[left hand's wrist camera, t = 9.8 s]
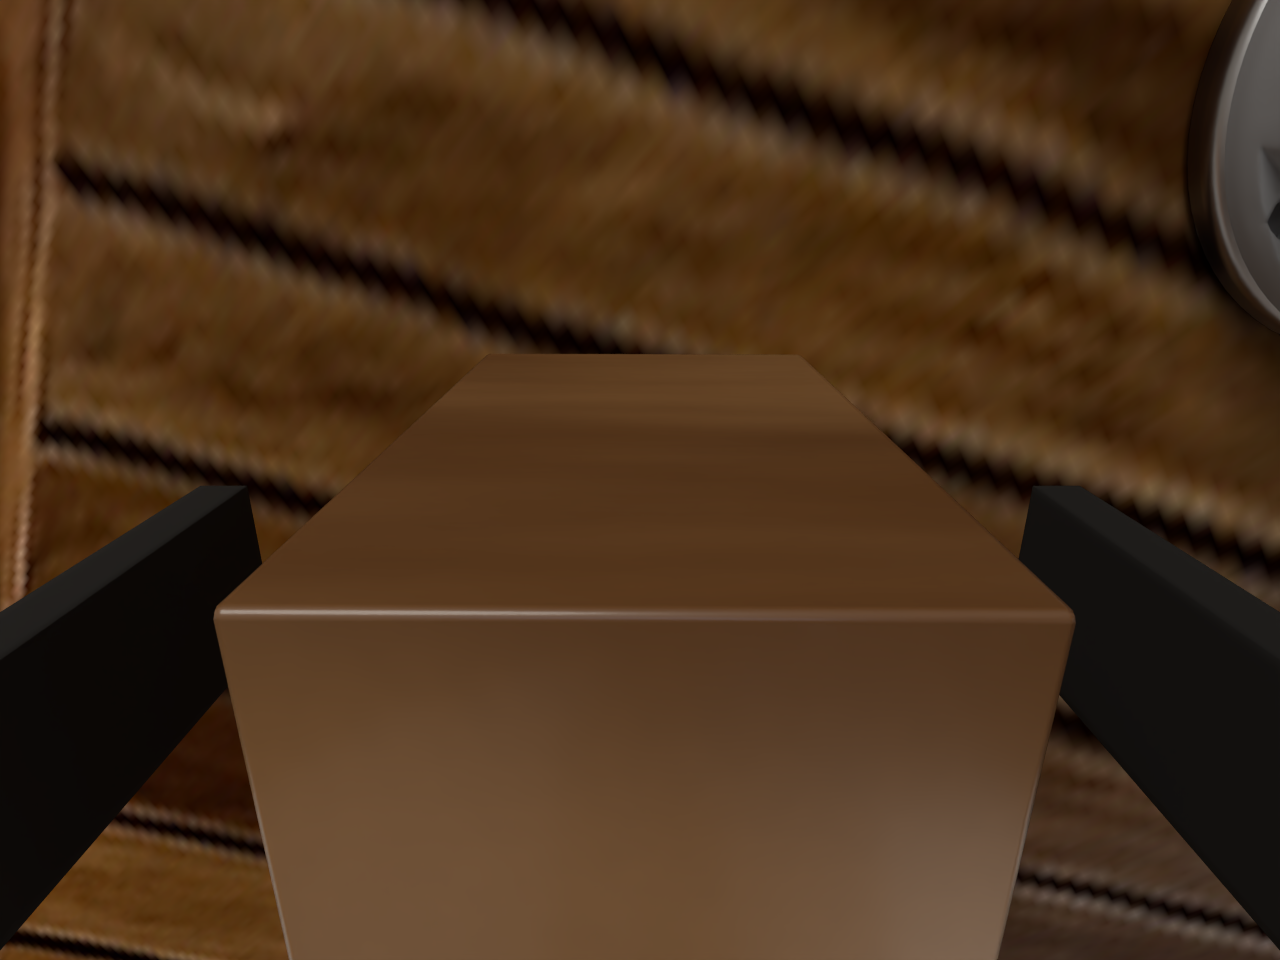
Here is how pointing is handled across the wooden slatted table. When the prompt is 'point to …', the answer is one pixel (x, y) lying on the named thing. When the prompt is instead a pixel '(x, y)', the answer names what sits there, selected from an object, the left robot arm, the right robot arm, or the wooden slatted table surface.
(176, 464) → the wooden slatted table surface
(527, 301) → the wooden slatted table surface
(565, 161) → the wooden slatted table surface
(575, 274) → the wooden slatted table surface
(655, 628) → the bar
